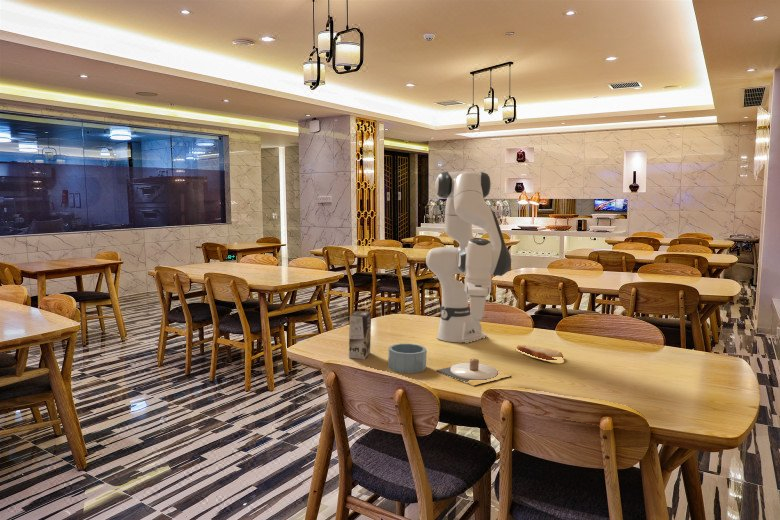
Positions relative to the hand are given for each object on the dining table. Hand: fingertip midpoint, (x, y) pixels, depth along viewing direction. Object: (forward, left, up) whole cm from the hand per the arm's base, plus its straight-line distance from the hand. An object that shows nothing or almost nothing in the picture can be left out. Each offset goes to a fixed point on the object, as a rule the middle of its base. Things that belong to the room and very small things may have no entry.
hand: (475, 327), depth 188 cm
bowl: (+15, -18, -17) cm, 29 cm away
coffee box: (+21, -39, -17) cm, 47 cm away
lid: (0, 0, -16) cm, 16 cm away
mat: (0, 0, -17) cm, 17 cm away
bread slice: (-38, -2, -17) cm, 41 cm away
